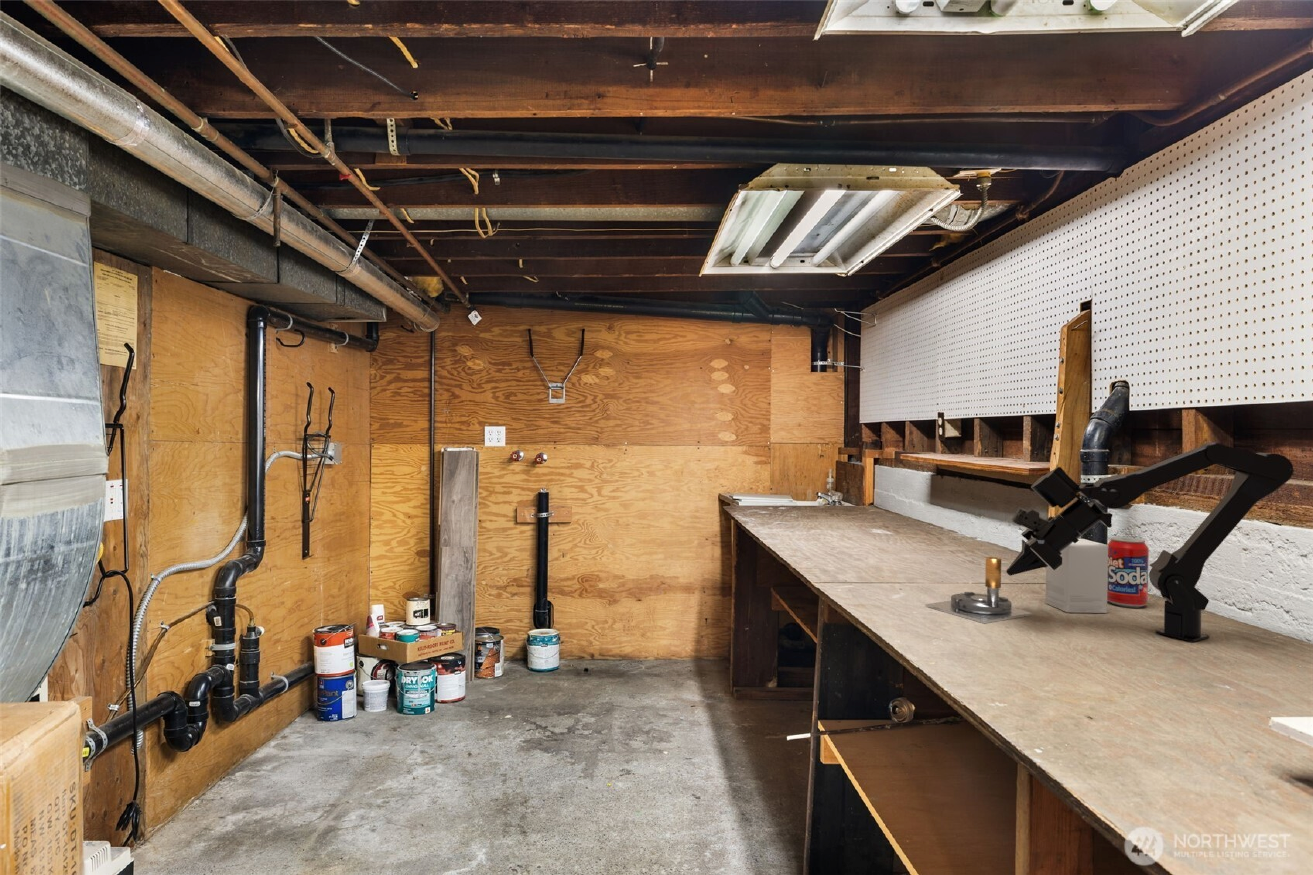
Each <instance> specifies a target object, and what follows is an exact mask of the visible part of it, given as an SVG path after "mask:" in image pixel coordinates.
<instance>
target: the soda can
mask: <svg viewBox="0 0 1313 875" xmlns="http://www.w3.org/2000/svg"><path fill="white" fill-rule="evenodd" d="M1106 545H1108V580H1107V602H1110V603H1111V604H1113V605H1115V606H1118V607H1124V608H1129V609H1130V608H1132V609H1138V608H1142V607H1144V606H1146V605H1147V604H1148V600H1149V599H1148V598H1149V597H1148V596H1149V559H1150V558H1149V551H1150V550H1149V547H1148V545H1147V544H1146V540H1145V539H1141V538H1135V537H1127V536H1126V537H1124V536H1115V537H1114V536H1113V537H1112V536H1111V537H1110V541H1109V542H1108V543H1107V544H1106Z"/></svg>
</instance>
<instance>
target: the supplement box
mask: <svg viewBox="0 0 1313 875" xmlns="http://www.w3.org/2000/svg"><path fill="white" fill-rule="evenodd" d="M1078 540H1079V541H1078V542H1076V543H1074V542H1072V543H1071V544H1070V545H1069V546H1067V547H1066V548H1065V549H1063V550H1062V551H1061V553H1062V554H1061V555H1060V556H1061V557H1062V565H1060V566H1059V567H1058V568H1057V569H1055V570H1053V569H1052V568H1051V567H1050V566H1049V565H1048V564H1047V563H1046V564H1047V565H1048V567H1045V603H1046V604H1047V605H1049V606H1051V607H1054V608H1056V609H1059V610H1060V611H1063V612H1065V613H1072V614H1073V613H1078V614H1079V613H1081V614H1082V613H1084V614H1107V613H1108V600H1107V580H1108V545H1107V544H1104V543H1101V542H1096V541H1094V540H1093V541H1092V540H1089V539H1086V538H1078Z"/></svg>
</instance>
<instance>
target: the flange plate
mask: <svg viewBox="0 0 1313 875" xmlns="http://www.w3.org/2000/svg"><path fill="white" fill-rule="evenodd" d="M924 606H925V607H926V608H928V609H934V610H937V611H941V612H944V613H946V614H950V615H955V616H956V617H961V618H964V619H967V620H971V621H974V622H978V623H981V624H990V623H995V622H1000V621H1006V620H1007V619H1008V620H1013V619H1019V618H1024V616H1025V617H1031V616H1033V613H1032V612H1030V611H1026V610H1023V609H1019V608H1015V607H1012V611H1011V612H1010V613H1006V614H980V613H973V612H968V611H963V610H960V609H959V606H960V600H959V599H955V600H954V607H953V606H952V605H951V599H950V600H945V601H938V602H932V603H930V602H929V603H925V605H924ZM1008 620H1007V621H1008Z"/></svg>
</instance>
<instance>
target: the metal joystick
mask: <svg viewBox="0 0 1313 875" xmlns="http://www.w3.org/2000/svg"><path fill="white" fill-rule="evenodd" d="M984 567H985V570H984V571H985V575H984V576H985V578H984V586H985V587H986V589H987V590H986V593H975V592H974V591H963V592H964V593H961V592H960V593H955V594H951V595H950V600H951V605H952V606H953V607H954V600H955V599H959V600H960V606H959V609H960V610H963V611H968V612H973V613H980V614H1006V613H1010V612H1011V611H1012V608H1013V607H1012V605H1013V604H1012V601H1011V600H1009V598H1007V597H1005V596H1000V595H999V594H1000V589H1001V588H1002V558H1001V557H997V556H996V557H995V556H986V557H985V566H984Z"/></svg>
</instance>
